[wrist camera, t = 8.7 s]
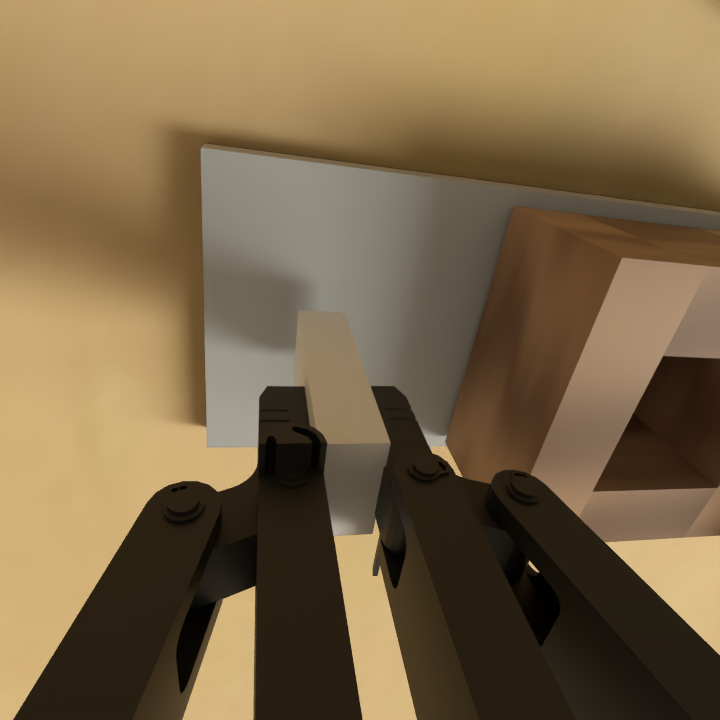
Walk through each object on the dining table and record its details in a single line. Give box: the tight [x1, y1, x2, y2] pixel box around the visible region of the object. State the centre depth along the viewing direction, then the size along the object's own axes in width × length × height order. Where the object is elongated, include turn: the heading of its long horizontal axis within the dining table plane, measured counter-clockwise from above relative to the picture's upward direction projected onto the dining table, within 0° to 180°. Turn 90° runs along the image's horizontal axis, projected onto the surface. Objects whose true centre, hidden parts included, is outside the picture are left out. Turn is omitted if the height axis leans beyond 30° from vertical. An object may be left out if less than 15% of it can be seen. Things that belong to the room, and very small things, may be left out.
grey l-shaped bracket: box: [201, 143, 720, 447], centre depth 15 cm, size 11×22×9 cm, turn 82°
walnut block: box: [445, 206, 720, 542], centre depth 17 cm, size 10×10×6 cm
